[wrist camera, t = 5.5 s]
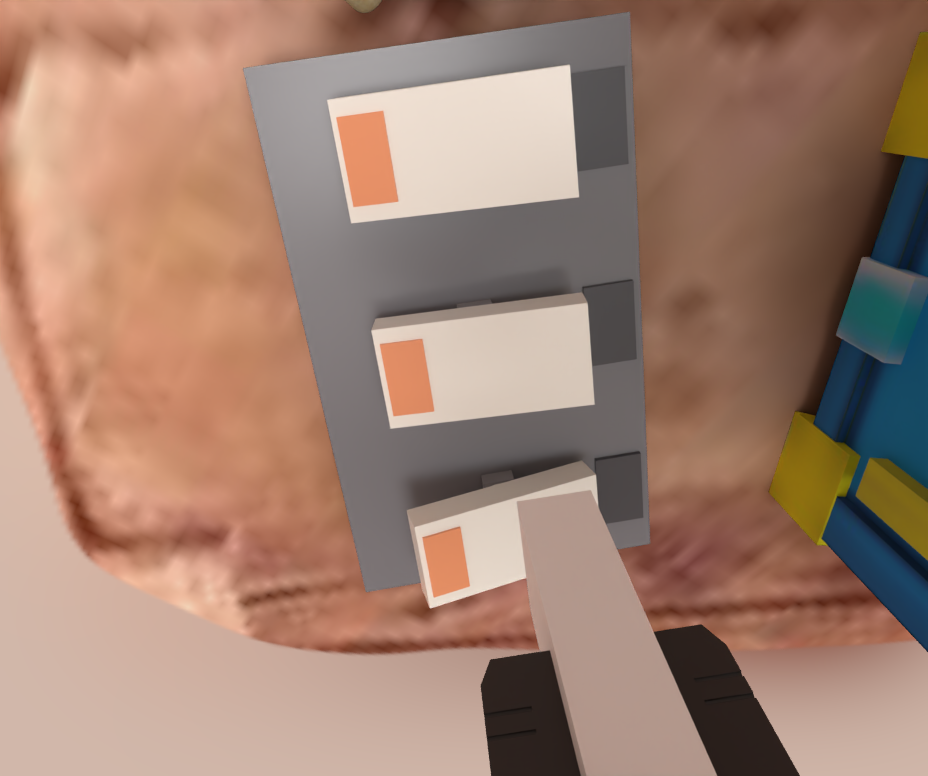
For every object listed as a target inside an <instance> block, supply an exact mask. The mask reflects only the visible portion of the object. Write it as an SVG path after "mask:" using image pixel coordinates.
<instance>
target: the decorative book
mask: <svg viewBox="0 0 928 776" xmlns="http://www.w3.org/2000/svg"><path fill="white" fill-rule="evenodd" d="M881 152H887V153H894V154H900V155H905V157H904V160H903V163H902V166H901V169H900V171H899V174H898V177H897V180H896V183H895V186H894V189H893V192H892V195H891V198H890V201H889V204H888V207H887V209H886V212H885V215H884V218H883V221H882V224H881V227H880V230H879V233H878V236H877V239H876V242H875V245H874V247H873V250H872V253H871V256H870V257H862V259H861V262H860V265H859V268H858V271H857V274H856V277H855V280H854V283H853V286H852V288H851V291H850V294H849V297H848V300H847V303H846V306H845V309H844V312H843V315H842V318H841V321H840V324H839V327H838V330H837V333H836V336H838V337H840V338H841V339H842V341H841V344H840V347H839V350H838V353H837V356H836V358H835V361H834V364H833V367H832V370H831V373H830V376H829V379H828V382H827V385H826V388H825V391H824V393H823V396H822V399H821V402H820V405H819V408H818V411H817V414H816V416H814V415H810V414H806V413H802V412H798V411H795V413H794V416H793V419H792V422H791V425H790V428H789V431H788V435H787V438H786V441H785V444H784V447H783V450H782V453H781V456H780V459H779V462H778V465H777V468H776V471H775V474H774V477H773V480H772V483H771V486H770V489H769V493H770V495H771V496H772V497H773V498H774V499H775V500H776V501H777V502H778V503H779V504H780V505H781V507H782V508H783V509H784V510H785V511H786V512H787V513H788V514H789V515H790V516H791V517H792V519H793V520H794V521H795V522H796V523H797V524H798V525H799V526H800V527H801V528H802V529H803V531H804V532H805V533H806V534H807V535H808V536H809V537H810V538H811V539H812V540H813V541H814V543H815V544H816V545H825V546H829V547H830V548H831V549H832V550H833V551H834V553H835V554H836V555H837V556H838V557H839V558H840V559H841V560H842V561H843V562H844V563H845V564H846V565H847V566H848V567H849V569H850V570H851V571H852V572H853V573H854V574H855V575H856V576H857V577H858V578H859V579H860V580H861V581H862V582H863V583H864V585H865V586H866V587H867V588H868V589H869V590H870V591H871V592H872V593H873V594H874V595H875V596H876V597H877V598H878V599H879V601H880V602H881V603H882V604H883V605H884V606H885V607H886V608H887V609H888V610H889V611H890V612H891V613H892V614H893V615H894V617H895V618H896V619H897V620H898V621H899V622H900V623H901V624H902V625H903V626H904V627H905V628H906V629H907V630H908V631H909V633H910V634H911V635H912V636H913V637H914V638H915V639H916V640H917V641H918V642H919V643H920V644H921V645H922V646H923V647H924V648H925V649H926V651H927V652H928V32H920V34H919V37H918V40H917V43H916V46H915V49H914V52H913V55H912V58H911V61H910V64H909V67H908V70H907V73H906V76H905V79H904V82H903V85H902V89H901V92H900V95H899V98H898V101H897V104H896V107H895V110H894V113H893V116H892V119H891V122H890V125H889V128H888V131H887V134H886V137H885V140H884V143H883V146H882V149H881Z"/></svg>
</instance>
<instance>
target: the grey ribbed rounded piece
mask: <svg viewBox="0 0 928 776" xmlns="http://www.w3.org/2000/svg"><path fill="white" fill-rule="evenodd" d="M345 1H346V2H347V3H348V4H349V5H350V6H351V7H353V8H354V9H355V10H356V11H358V12H360V13H369V12H371V11H373V10H374V9H375V8H376V7H378V5H379V4H380V3H381V1H382V0H345Z"/></svg>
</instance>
